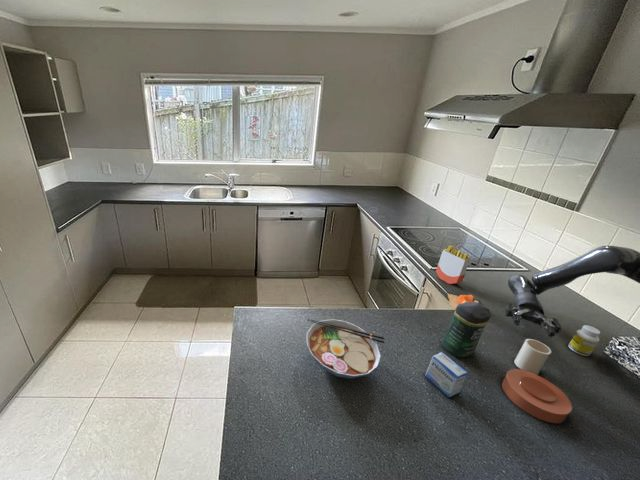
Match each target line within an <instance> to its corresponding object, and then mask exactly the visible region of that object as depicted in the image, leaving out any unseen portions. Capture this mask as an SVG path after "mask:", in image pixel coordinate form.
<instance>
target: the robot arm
mask: <svg viewBox="0 0 640 480" xmlns="http://www.w3.org/2000/svg"><path fill="white" fill-rule="evenodd" d="M601 273H607V274H613V275H620V276H623V277H626V278H628V279H630V280H633V281H634V282H636V283H637V284H640V252H639V251H638V250H635V249H634V248H629V247H624V246H618V245H601V246H598V247H595V248H594V249H591V250H589V251H588V252H587V251H586V253H583V254H582V255H579V256H578V257H576V258H573V259H571V260H569V261H567V262H564V263H562V264H560V265H557V266H554V267H551V268H547V269H545V270H541V271H539V272H536V273H534V274H532V276H531V279H529V278H528V277H527V276H525V275H524V274H514V275H512V276H510V277H509V278H508V280H507V286H508V288H509V289H510V291H511V293H512V294H513V295H514V305H515V306H514V305H513V304H511V303H507V305H506V307H505V317H508V318H510V317H511V320H512V322H513V324H515V326H520V323H521V321H522V320H525V321H527V322H531V323H534V324H536V325H537V326H538V327H540V329H541V328H542V329H544V330H546V334H547V337H549V338H552V337H555V335H556V334H559V333H560V331H561V330H562V326H561V324H560V322H559V320H558V318H556V317H552V318H548V317H547V316H546V314H545V311H544V308H543V304H542V302H541V300H540V298H539V296H541V294H543V293H544V292H546V291H549V290H551V289H555V288H559V287H562V286H563V287H564V286H566V285H569V284H570V283H572V282H574V281H575V280H577V279H578V278H581V277H584V276H588V275H592V274H601Z"/></svg>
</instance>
